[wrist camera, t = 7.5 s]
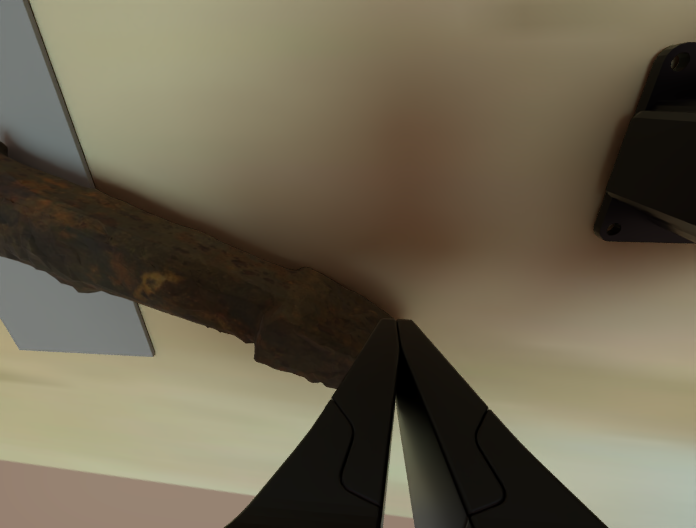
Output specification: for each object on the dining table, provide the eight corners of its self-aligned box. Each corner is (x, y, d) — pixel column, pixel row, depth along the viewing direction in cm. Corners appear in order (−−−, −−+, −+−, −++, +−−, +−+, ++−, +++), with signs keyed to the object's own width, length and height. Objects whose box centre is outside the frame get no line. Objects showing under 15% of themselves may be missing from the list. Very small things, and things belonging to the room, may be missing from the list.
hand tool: (-2, 210, 14) (-150, 256, 10) (-8, 122, 13) (-189, 135, 9) (376, 359, 17) (378, 442, 13) (414, 304, 15) (431, 379, 11)
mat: (24, -9, 11) (18, -10, 11) (155, 354, 18) (153, 356, 18) (-187, -3, 11) (-196, -5, 11) (23, 347, 19) (19, 349, 18)
